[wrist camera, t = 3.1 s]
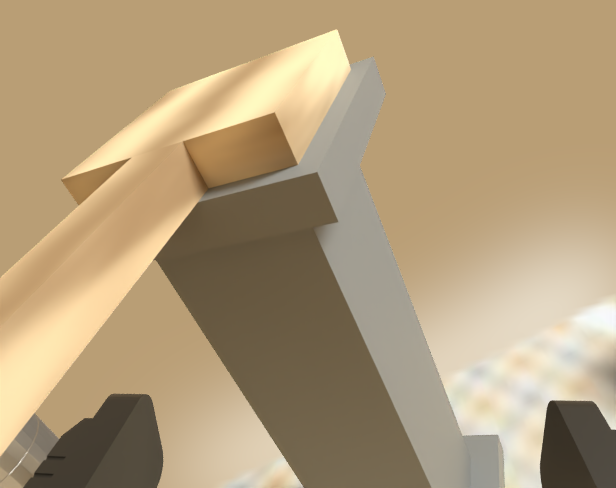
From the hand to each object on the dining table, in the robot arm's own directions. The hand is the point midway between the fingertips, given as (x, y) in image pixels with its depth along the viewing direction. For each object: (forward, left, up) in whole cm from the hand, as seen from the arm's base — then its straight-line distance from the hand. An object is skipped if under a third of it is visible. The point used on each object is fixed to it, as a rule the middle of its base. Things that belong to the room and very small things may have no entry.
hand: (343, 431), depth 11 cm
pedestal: (-8, +15, -30) cm, 34 cm away
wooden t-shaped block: (-8, +9, +2) cm, 12 cm away
